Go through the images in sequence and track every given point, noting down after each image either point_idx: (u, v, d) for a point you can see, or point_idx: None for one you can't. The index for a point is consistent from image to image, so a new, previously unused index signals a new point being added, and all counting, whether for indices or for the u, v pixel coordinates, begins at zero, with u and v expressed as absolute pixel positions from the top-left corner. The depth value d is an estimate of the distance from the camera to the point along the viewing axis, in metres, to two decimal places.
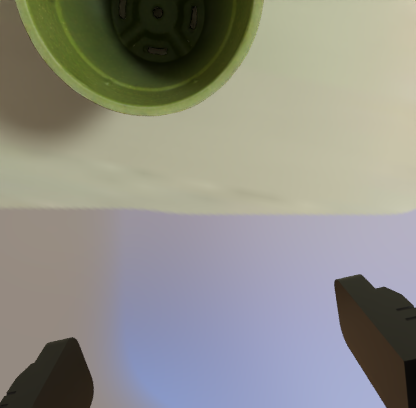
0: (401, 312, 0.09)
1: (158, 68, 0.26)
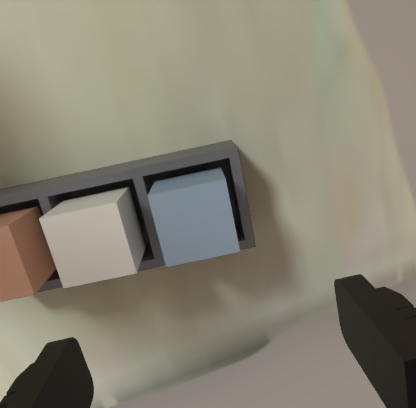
0: (401, 312, 0.09)
1: None
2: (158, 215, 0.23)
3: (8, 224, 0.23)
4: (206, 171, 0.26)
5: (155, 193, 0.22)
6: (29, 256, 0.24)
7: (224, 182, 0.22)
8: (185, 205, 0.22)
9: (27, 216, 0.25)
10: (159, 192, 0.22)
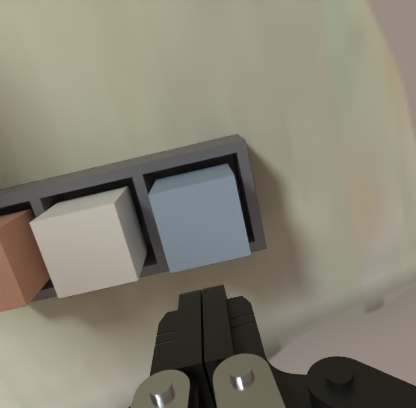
0: (240, 319, 0.10)
1: None
2: (160, 216, 0.20)
3: None
4: (212, 167, 0.24)
5: (156, 192, 0.20)
6: (21, 264, 0.22)
7: (232, 178, 0.20)
8: (189, 204, 0.20)
9: (18, 220, 0.23)
10: (161, 191, 0.20)
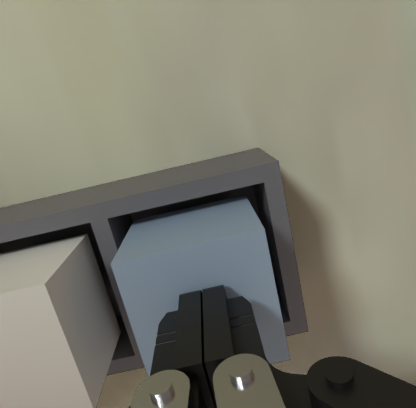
0: (240, 319, 0.10)
1: None
2: (133, 299, 0.12)
3: None
4: (221, 203, 0.15)
5: (126, 258, 0.11)
6: None
7: (262, 235, 0.11)
8: (184, 279, 0.12)
9: None
10: (134, 256, 0.11)
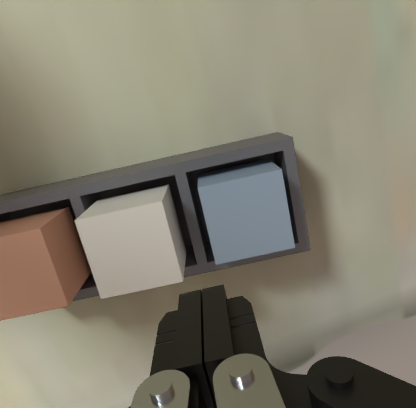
0: (240, 319, 0.10)
1: None
2: (208, 209, 0.21)
3: (40, 227, 0.20)
4: (253, 163, 0.24)
5: (205, 185, 0.21)
6: (62, 263, 0.21)
7: (280, 172, 0.21)
8: (237, 197, 0.21)
9: (58, 218, 0.22)
10: (210, 184, 0.21)
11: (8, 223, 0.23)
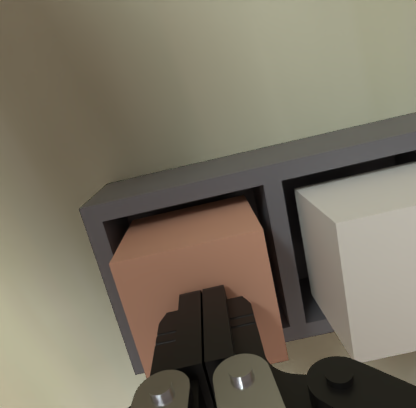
0: (240, 319, 0.10)
1: None
2: None
3: (258, 227, 0.11)
4: None
5: None
6: None
7: None
8: None
9: None
10: None
11: (159, 221, 0.14)
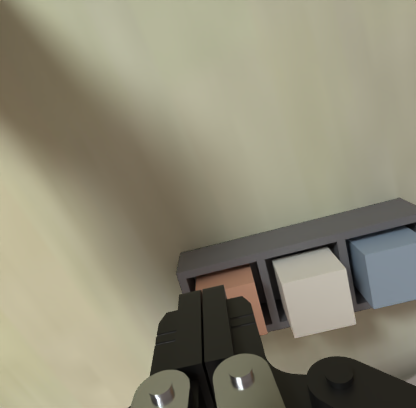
0: (240, 319, 0.10)
1: None
2: (371, 269, 0.29)
3: (252, 281, 0.29)
4: None
5: (369, 252, 0.28)
6: None
7: None
8: (393, 261, 0.28)
9: None
10: (372, 251, 0.28)
11: (210, 274, 0.32)
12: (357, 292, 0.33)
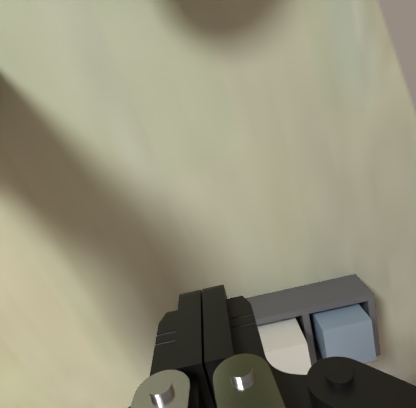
0: (240, 319, 0.10)
1: None
2: (328, 341, 0.36)
3: None
4: None
5: (326, 328, 0.36)
6: None
7: (370, 321, 0.36)
8: (345, 335, 0.36)
9: None
10: (329, 327, 0.36)
11: None
12: (318, 351, 0.41)
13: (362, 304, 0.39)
